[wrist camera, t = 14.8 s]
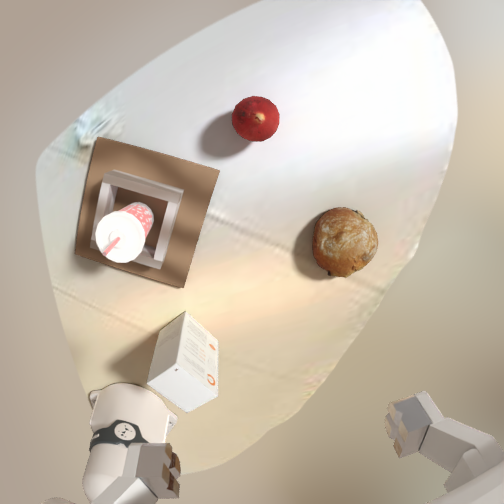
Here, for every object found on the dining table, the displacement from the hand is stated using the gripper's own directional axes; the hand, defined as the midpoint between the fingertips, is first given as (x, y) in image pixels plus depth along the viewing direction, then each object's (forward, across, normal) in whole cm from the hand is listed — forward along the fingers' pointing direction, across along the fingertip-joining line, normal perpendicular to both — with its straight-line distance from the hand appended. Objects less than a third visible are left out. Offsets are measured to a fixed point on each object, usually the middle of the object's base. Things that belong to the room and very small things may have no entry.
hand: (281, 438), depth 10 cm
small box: (+37, +12, +20) cm, 44 cm away
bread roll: (+38, -14, +8) cm, 41 cm away
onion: (+37, -4, -12) cm, 39 cm away
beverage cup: (+36, +14, -1) cm, 39 cm away
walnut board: (+37, +14, -2) cm, 40 cm away
